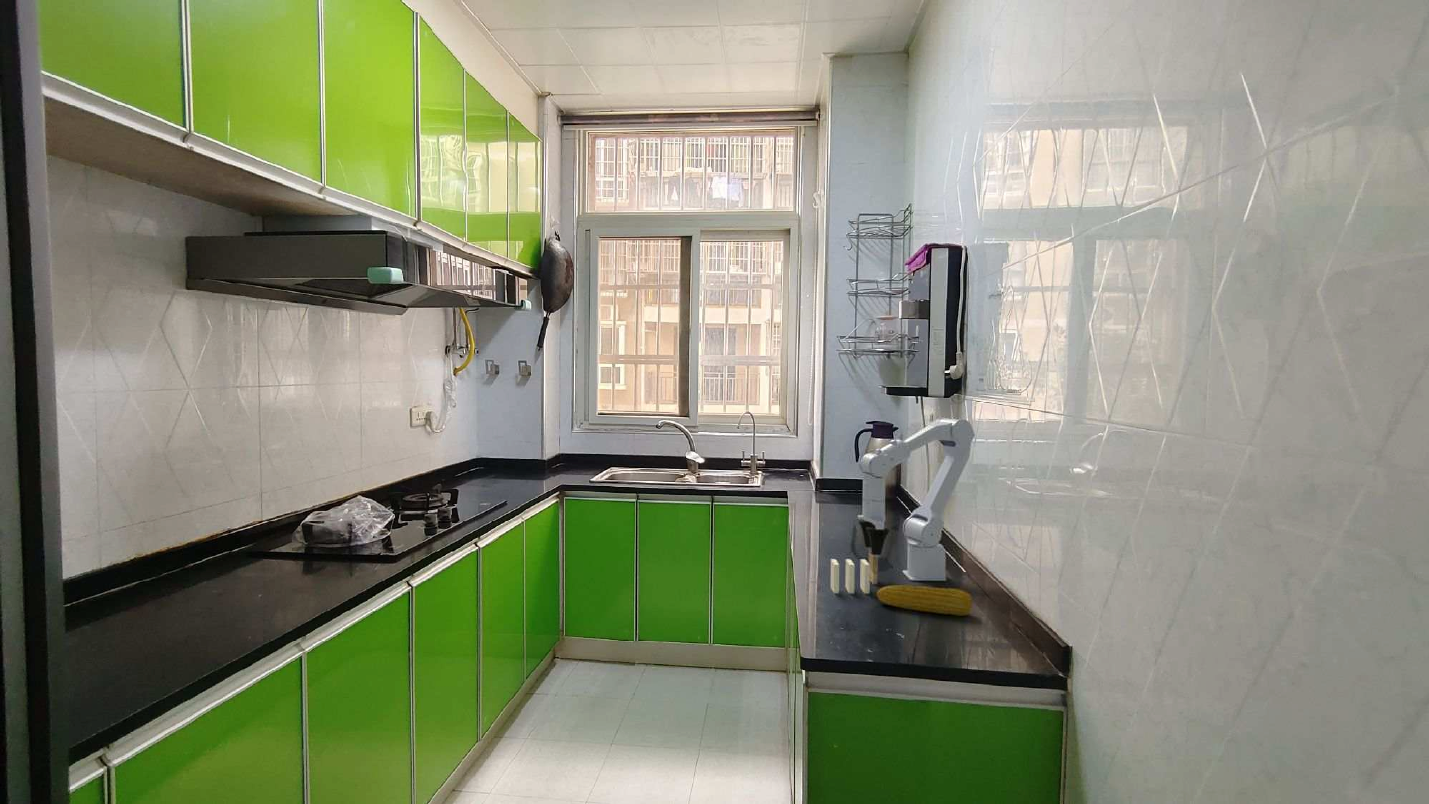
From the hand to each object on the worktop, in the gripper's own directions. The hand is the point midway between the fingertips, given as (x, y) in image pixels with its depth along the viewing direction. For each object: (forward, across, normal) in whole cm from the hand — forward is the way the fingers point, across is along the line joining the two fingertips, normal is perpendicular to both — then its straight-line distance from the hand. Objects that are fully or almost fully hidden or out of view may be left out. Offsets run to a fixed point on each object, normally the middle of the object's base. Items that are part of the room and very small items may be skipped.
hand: (872, 550), depth 176 cm
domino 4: (+8, 0, 0) cm, 8 cm away
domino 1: (+8, +8, -11) cm, 16 cm away
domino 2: (+8, +8, -8) cm, 13 cm away
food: (+8, +22, +7) cm, 24 cm away
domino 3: (+8, +8, -4) cm, 12 cm away
